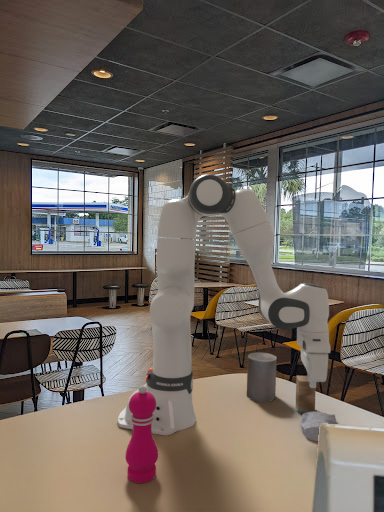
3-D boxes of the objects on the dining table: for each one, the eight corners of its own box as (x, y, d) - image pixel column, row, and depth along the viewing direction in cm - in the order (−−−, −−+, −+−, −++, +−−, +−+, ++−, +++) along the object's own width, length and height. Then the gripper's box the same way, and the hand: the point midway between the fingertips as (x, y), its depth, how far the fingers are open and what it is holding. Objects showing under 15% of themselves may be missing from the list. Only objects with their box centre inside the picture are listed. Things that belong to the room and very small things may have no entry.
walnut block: (298, 413, 118) (298, 381, 118) (295, 406, 123) (296, 375, 123) (314, 414, 118) (315, 382, 117) (311, 407, 123) (312, 376, 122)
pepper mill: (129, 488, 81) (130, 394, 80) (121, 469, 88) (122, 382, 87) (162, 480, 84) (163, 389, 83) (152, 462, 91) (153, 378, 90)
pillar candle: (243, 391, 135) (244, 348, 135) (270, 390, 137) (271, 348, 136) (250, 402, 126) (251, 357, 125) (279, 401, 127) (280, 356, 126)
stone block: (305, 447, 102) (344, 444, 101) (301, 429, 103) (340, 425, 101) (300, 428, 114) (336, 424, 112) (297, 411, 114) (332, 408, 112)
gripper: (296, 330, 123) (295, 373, 123) (307, 348, 102) (307, 399, 103) (316, 331, 122) (316, 374, 122) (332, 348, 101) (331, 400, 102)
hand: (312, 386), depth 112 cm, fingers closed
